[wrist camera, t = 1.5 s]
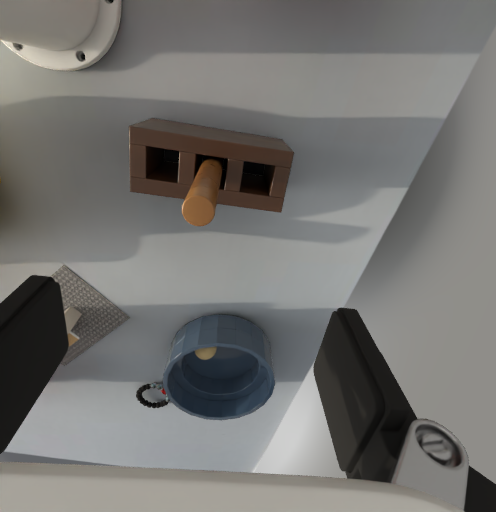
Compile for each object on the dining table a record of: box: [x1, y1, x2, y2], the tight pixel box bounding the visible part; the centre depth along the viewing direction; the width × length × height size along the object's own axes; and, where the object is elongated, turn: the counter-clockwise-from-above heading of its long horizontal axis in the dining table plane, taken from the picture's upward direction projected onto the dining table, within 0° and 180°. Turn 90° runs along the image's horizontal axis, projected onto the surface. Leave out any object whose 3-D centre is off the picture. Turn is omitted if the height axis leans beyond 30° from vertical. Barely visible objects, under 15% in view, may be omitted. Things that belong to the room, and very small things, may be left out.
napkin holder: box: [64, 306, 83, 347], centre depth 42 cm, size 3×7×7 cm, turn 128°
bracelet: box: [136, 382, 170, 408], centre depth 52 cm, size 6×6×1 cm
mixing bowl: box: [163, 314, 275, 420], centre depth 46 cm, size 15×15×6 cm
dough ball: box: [195, 346, 217, 360], centre depth 45 cm, size 3×3×3 cm
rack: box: [129, 118, 294, 212], centre depth 31 cm, size 6×14×8 cm, turn 81°
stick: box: [182, 155, 224, 226], centre depth 27 cm, size 2×2×18 cm
